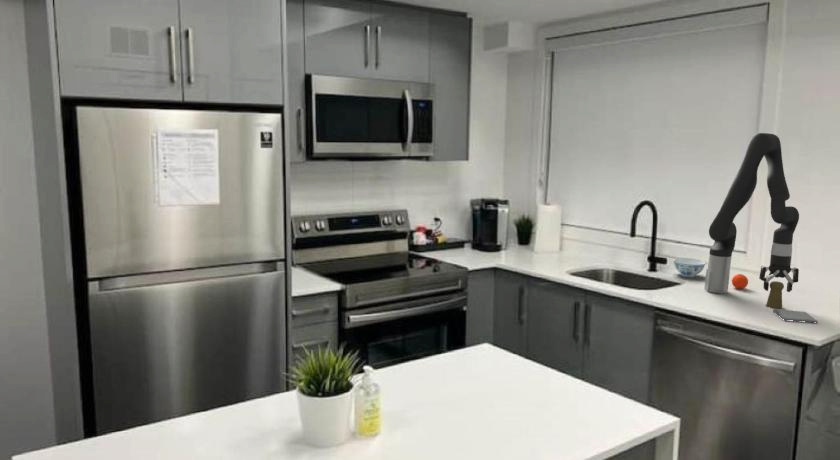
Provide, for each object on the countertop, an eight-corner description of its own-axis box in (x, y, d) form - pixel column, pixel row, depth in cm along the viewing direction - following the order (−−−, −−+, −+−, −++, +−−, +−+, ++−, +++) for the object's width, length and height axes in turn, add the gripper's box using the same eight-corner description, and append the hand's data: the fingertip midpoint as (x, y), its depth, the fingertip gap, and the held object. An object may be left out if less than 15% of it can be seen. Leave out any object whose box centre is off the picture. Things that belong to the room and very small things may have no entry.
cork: (784, 309, 255) (787, 284, 253) (768, 308, 256) (772, 283, 254) (779, 305, 261) (782, 280, 259) (763, 304, 262) (766, 279, 260)
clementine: (733, 285, 292) (734, 271, 290) (749, 288, 287) (751, 273, 286) (729, 288, 286) (730, 274, 284) (745, 291, 281) (747, 276, 280)
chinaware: (683, 270, 319) (684, 256, 317) (710, 277, 307) (711, 262, 305) (665, 274, 311) (667, 259, 309) (692, 281, 298) (694, 265, 297)
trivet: (783, 321, 240) (783, 318, 240) (772, 311, 251) (773, 309, 251) (817, 323, 237) (817, 320, 237) (804, 314, 249) (805, 311, 249)
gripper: (765, 254, 252) (762, 292, 255) (803, 256, 249) (799, 294, 252) (759, 251, 259) (756, 287, 262) (796, 252, 256) (792, 289, 259)
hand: (777, 291), depth 257 cm, fingers open, 8 cm apart
